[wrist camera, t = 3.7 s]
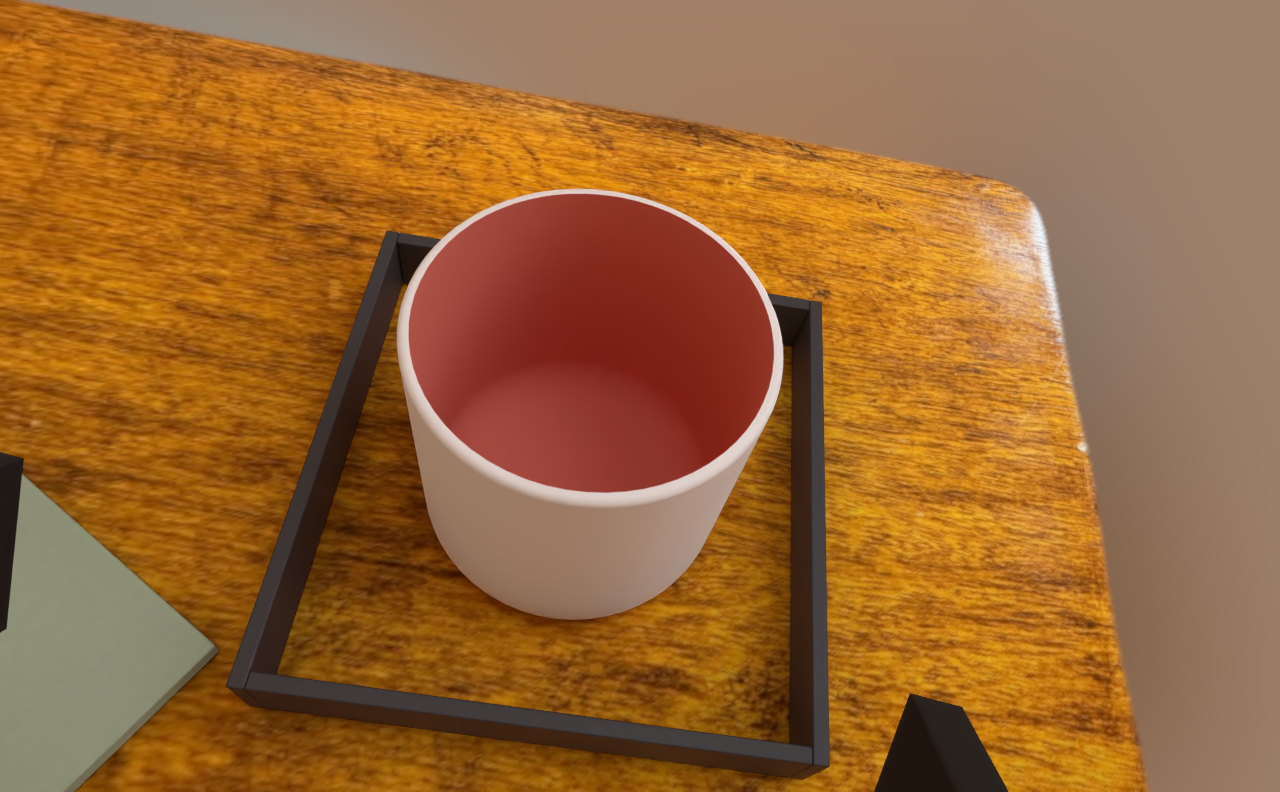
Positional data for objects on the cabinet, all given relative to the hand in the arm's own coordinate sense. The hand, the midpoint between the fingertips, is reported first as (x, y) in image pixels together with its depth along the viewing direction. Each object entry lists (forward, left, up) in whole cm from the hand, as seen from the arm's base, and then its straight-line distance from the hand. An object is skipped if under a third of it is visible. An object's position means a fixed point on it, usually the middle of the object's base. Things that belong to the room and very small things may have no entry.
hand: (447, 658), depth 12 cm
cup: (+4, -9, -15) cm, 18 cm away
